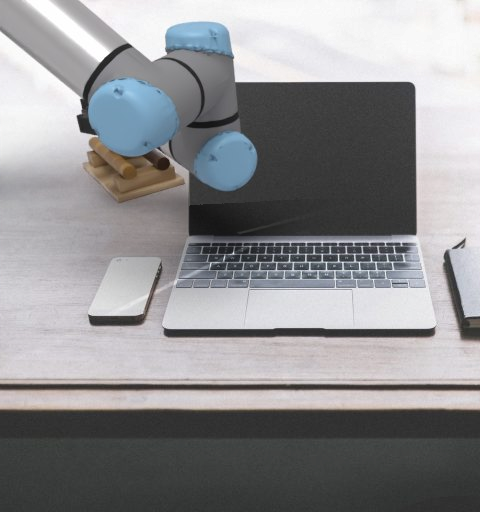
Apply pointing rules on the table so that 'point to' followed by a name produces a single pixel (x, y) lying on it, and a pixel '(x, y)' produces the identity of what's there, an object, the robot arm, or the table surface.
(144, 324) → the table surface
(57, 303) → the table surface
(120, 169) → the rod rack
